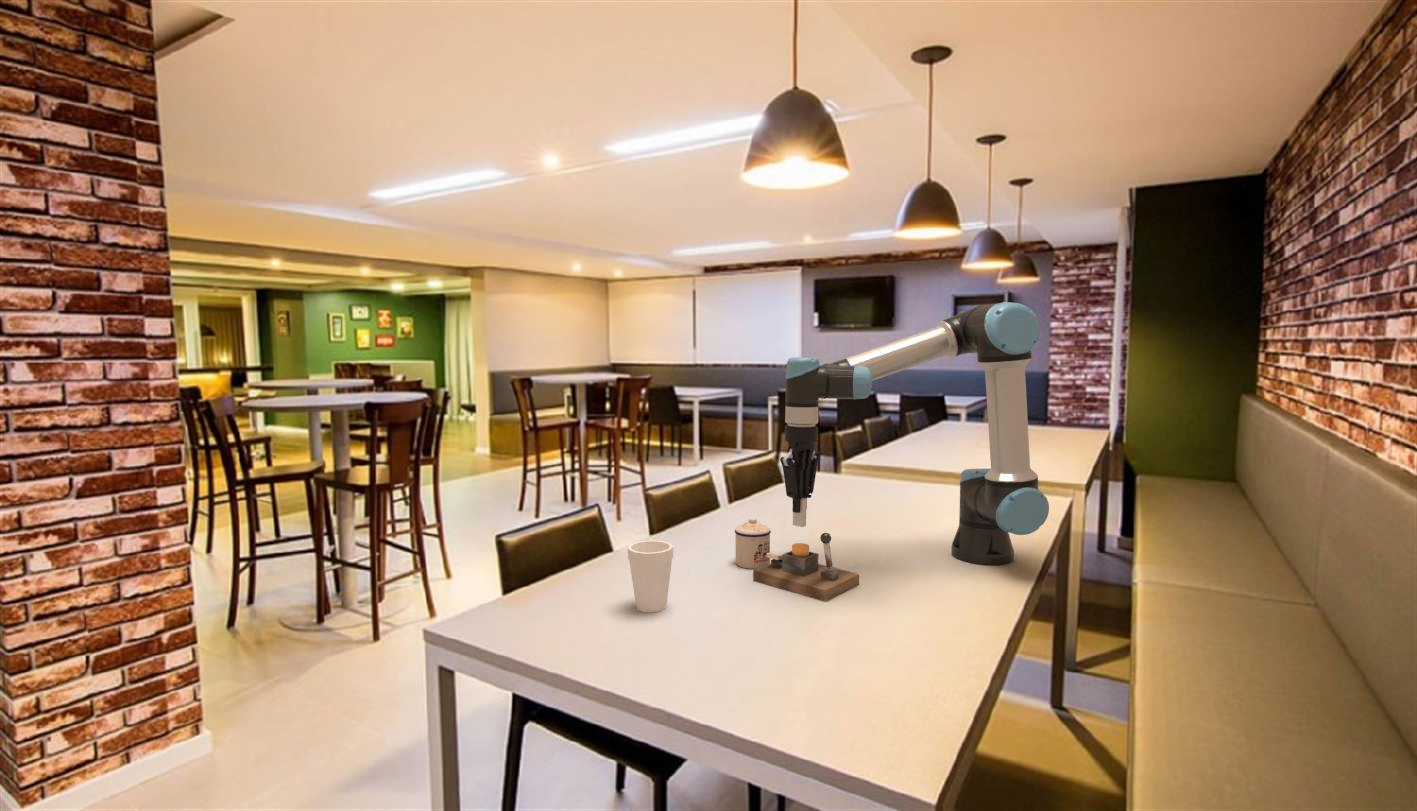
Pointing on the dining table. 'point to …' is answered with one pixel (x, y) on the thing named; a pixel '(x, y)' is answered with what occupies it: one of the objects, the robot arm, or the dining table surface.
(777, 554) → the rocker switch
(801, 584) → the switch panel
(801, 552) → the push button
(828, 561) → the toggle lever
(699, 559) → the dining table surface
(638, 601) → the foam cup
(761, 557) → the teacup with lid
